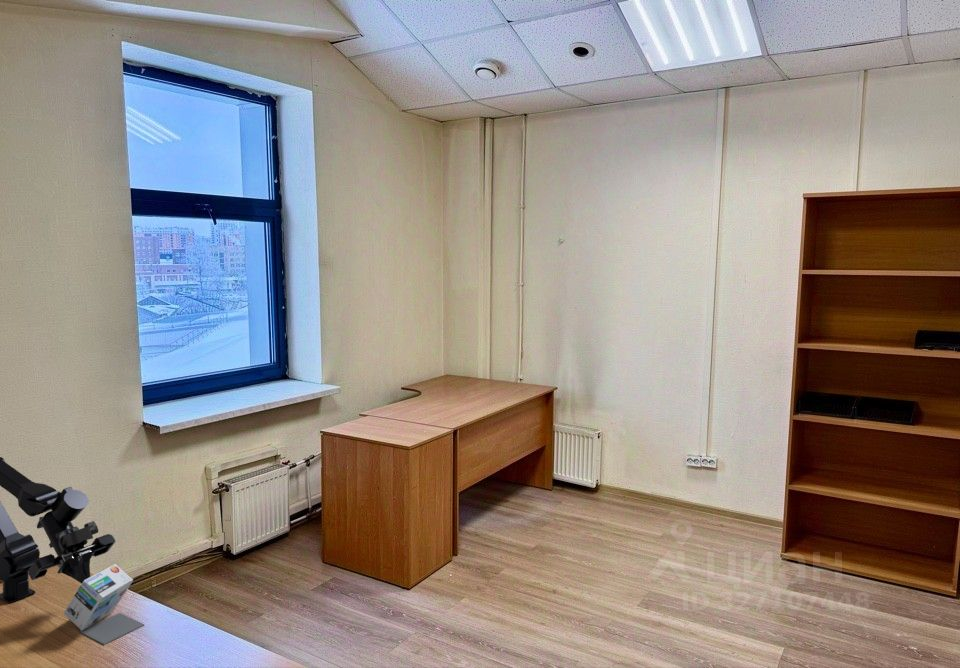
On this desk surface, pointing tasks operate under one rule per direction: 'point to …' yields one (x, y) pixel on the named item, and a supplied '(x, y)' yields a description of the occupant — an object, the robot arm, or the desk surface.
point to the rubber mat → (111, 628)
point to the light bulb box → (98, 596)
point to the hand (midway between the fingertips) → (88, 584)
